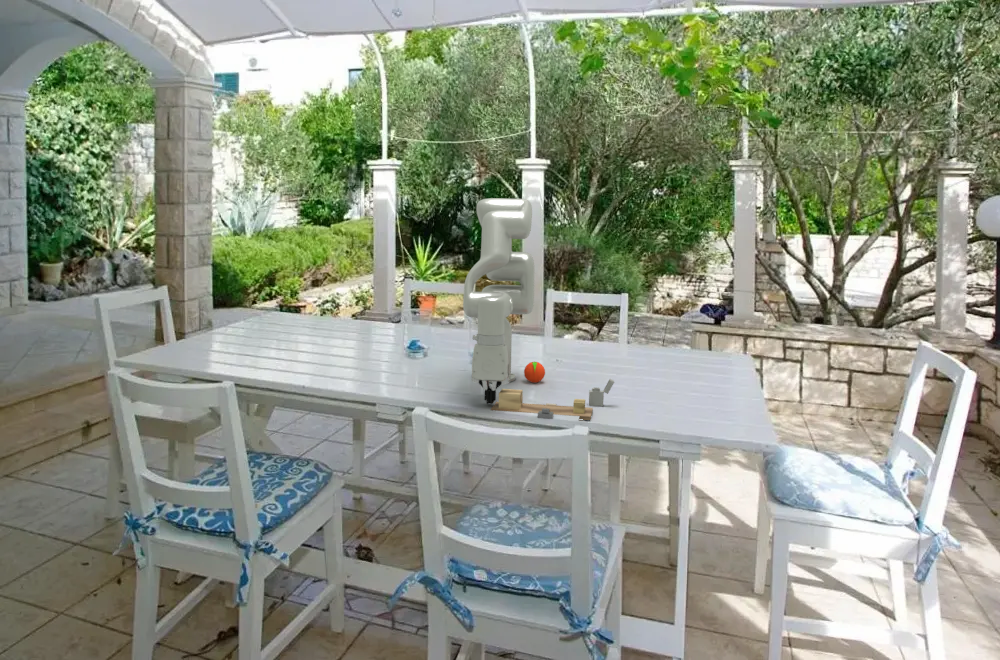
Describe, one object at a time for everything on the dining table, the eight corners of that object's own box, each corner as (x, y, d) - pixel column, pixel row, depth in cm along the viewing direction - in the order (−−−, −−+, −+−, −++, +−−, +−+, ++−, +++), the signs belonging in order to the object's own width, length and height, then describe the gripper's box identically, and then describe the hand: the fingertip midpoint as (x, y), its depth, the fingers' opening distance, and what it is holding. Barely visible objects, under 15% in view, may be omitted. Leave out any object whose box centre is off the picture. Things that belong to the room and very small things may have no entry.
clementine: (545, 386, 240) (545, 364, 239) (523, 385, 240) (524, 364, 239) (544, 380, 248) (544, 359, 247) (523, 379, 248) (524, 358, 247)
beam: (497, 404, 219) (497, 390, 218) (592, 410, 214) (593, 396, 213) (489, 415, 207) (489, 401, 206) (590, 422, 202) (590, 407, 201)
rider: (501, 403, 215) (502, 388, 214) (522, 405, 213) (522, 389, 213) (498, 408, 210) (498, 393, 209) (519, 409, 209) (519, 394, 208)
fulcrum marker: (538, 419, 204) (539, 407, 203) (553, 420, 203) (553, 408, 203) (537, 421, 202) (537, 409, 201) (552, 422, 201) (552, 410, 200)
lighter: (589, 405, 218) (590, 379, 217) (588, 404, 220) (589, 377, 219) (613, 406, 218) (614, 380, 216) (612, 404, 220) (614, 378, 218)
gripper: (461, 341, 207) (461, 404, 210) (514, 343, 204) (513, 408, 208) (468, 336, 214) (467, 397, 218) (519, 338, 212) (518, 401, 215)
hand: (490, 402), depth 213 cm, fingers closed
